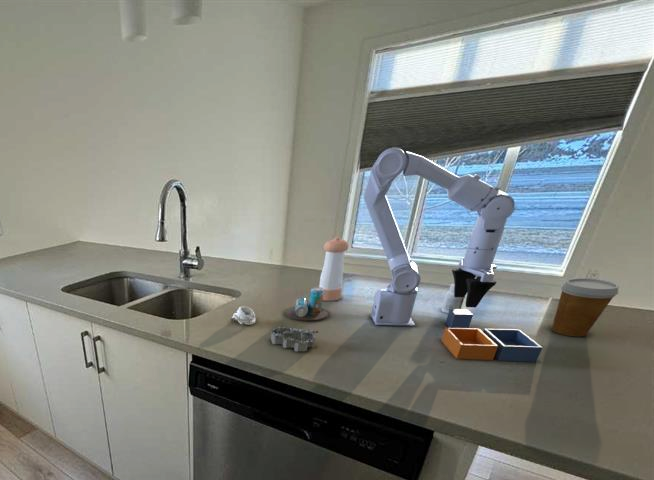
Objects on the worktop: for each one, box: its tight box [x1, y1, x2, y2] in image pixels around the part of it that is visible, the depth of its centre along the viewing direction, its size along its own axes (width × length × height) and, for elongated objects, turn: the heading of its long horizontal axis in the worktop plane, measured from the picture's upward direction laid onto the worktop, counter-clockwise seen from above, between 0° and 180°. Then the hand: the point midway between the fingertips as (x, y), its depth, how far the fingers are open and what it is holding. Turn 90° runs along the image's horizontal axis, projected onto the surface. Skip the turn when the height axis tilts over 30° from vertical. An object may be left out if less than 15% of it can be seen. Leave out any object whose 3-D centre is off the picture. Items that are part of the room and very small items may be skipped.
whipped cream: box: [230, 305, 256, 326], centre depth 121 cm, size 8×7×5 cm
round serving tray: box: [285, 286, 329, 322], centre depth 121 cm, size 12×12×8 cm
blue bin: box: [482, 328, 543, 363], centre depth 92 cm, size 7×10×4 cm
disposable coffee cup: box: [551, 277, 620, 337], centre depth 96 cm, size 10×10×12 cm
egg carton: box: [269, 325, 319, 353], centre depth 105 cm, size 11×8×4 cm
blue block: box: [444, 308, 474, 328], centre depth 106 cm, size 4×4×4 cm
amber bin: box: [441, 327, 498, 361], centre depth 95 cm, size 7×10×4 cm
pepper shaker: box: [317, 236, 350, 302], centre depth 129 cm, size 7×7×19 cm
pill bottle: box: [441, 283, 466, 314], centre depth 114 cm, size 4×4×8 cm
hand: (464, 301), depth 104 cm, fingers open, 7 cm apart
